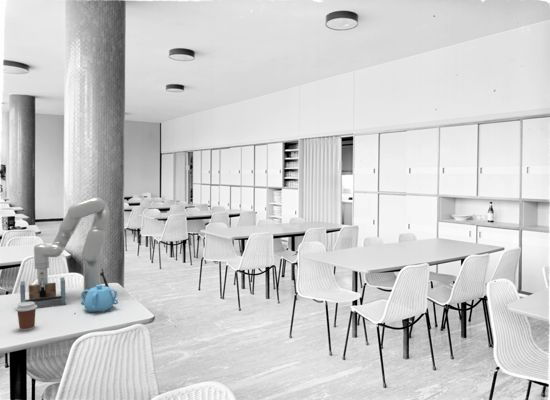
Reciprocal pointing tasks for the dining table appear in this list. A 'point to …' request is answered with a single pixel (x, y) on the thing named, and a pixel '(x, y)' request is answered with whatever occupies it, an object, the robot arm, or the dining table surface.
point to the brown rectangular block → (35, 291)
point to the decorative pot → (99, 299)
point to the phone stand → (104, 278)
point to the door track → (47, 300)
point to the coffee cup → (26, 315)
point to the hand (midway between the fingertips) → (42, 295)
